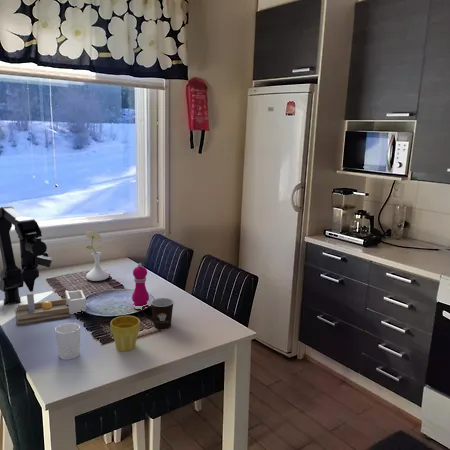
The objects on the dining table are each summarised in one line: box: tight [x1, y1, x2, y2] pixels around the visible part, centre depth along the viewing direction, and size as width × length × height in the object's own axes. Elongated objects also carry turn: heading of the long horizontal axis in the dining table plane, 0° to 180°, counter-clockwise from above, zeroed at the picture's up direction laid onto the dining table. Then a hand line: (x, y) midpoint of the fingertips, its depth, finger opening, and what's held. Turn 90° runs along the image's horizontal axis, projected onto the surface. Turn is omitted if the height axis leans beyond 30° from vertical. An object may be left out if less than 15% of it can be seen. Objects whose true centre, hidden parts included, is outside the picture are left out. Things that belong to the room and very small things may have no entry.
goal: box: [64, 289, 87, 315], centre depth 188 cm, size 11×7×7 cm, turn 26°
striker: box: [26, 291, 35, 313], centre depth 181 cm, size 7×2×8 cm, turn 26°
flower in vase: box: [85, 230, 110, 282], centre depth 223 cm, size 13×11×25 cm
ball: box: [42, 300, 52, 310], centre depth 184 cm, size 4×4×4 cm
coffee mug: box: [141, 297, 174, 331], centre depth 174 cm, size 12×9×10 cm
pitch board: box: [16, 298, 71, 327], centre depth 183 cm, size 17×20×3 cm
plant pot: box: [109, 315, 141, 352], centre depth 157 cm, size 10×10×10 cm
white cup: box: [54, 322, 81, 361], centre depth 150 cm, size 8×8×10 cm
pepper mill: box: [131, 262, 150, 306], centre depth 190 cm, size 7×7×20 cm
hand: (31, 287), depth 179 cm, fingers open, 9 cm apart
